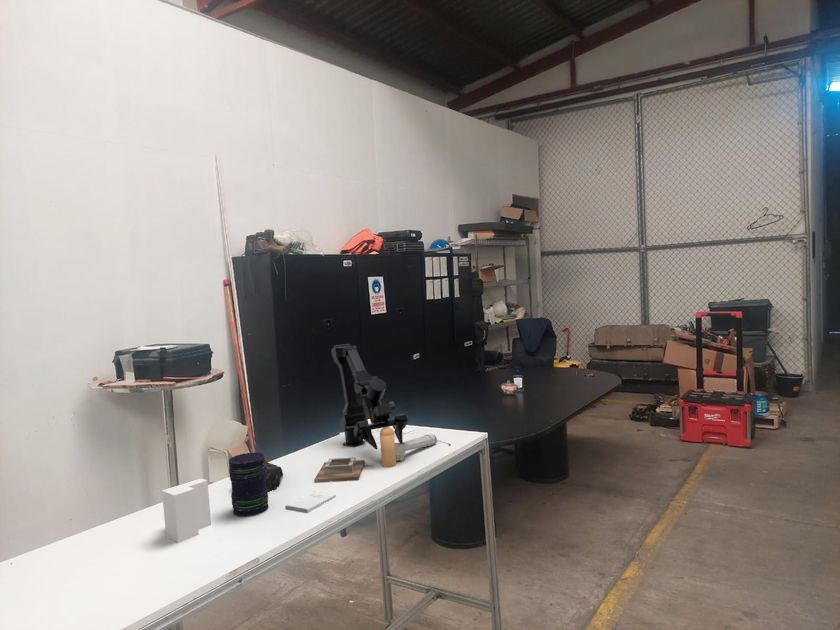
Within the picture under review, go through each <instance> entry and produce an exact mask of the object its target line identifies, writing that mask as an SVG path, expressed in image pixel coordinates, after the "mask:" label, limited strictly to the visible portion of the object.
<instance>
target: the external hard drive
mask: <svg viewBox="0 0 840 630" xmlns="http://www.w3.org/2000/svg"><path fill="white" fill-rule="evenodd" d="M335 497H336V498H337V494H336V493H330V492H323V491H318V490H315V491H312V492H310V493H308V494H307V495H304V496H303V497H300V498H298V499H297V500H294V501H293V502H290V503H289V504H286V505H285V510H290V511H296V512H302V513H306V514H308V513H311V512H312V511H314V510H316V509H318V508H320V507H322V506H323V505H325V504H327V503H328V502H331V501H332V500H334V499H335ZM333 498H334V499H333ZM326 502H327V503H326ZM324 503H325V504H324Z"/></svg>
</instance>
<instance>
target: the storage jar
mask: <svg viewBox="0 0 840 630" xmlns="http://www.w3.org/2000/svg"><path fill="white" fill-rule="evenodd" d="M265 457H266V456H265V454H264V453H261V452H248V453H241V454H237V455H234V456H232V457H230V458H228V466H229V467H228V474H229V481H230V483H231V493H230V494H231V495H230V497H231V505H232V509H233V510H232V514H233V515H234V516H236V517H240V518H245V517H246V518H247V517H248V518H249V517H254V516H257V515H260V514H262V513H263V514H264V513H265V512H267V510H268V509H269V493H268V490H267V487H266V480H265V475H266V465H265V461H266V460H265Z"/></svg>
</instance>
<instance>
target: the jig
mask: <svg viewBox="0 0 840 630" xmlns="http://www.w3.org/2000/svg"><path fill="white" fill-rule="evenodd" d="M365 464H366V460H365V459H358V460H356V457H339V458H337V457H336V458H328V460H327V461H324V463H323V464H322V466H321V467H320V469H319V470H318V472H317V473H316V476H315V478H314V482H316V483H330V482H329V481H333V482H344V481H346V482H347V480H350V481H359V480H360V478H361V475H362V472H363V469H364V466H365Z"/></svg>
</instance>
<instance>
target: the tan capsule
mask: <svg viewBox="0 0 840 630" xmlns="http://www.w3.org/2000/svg"><path fill="white" fill-rule="evenodd" d="M380 429H381V430H380V431H379V441H380V442H379V443H380V444H379V445H380V455H381V456H380V458H381V466H382V467H383V468H392V467H396V465H397V461H396V455H395V443H396V441H395V432H394V431H395V430H394V429H393V428H391V426H390V427H384V428H380Z"/></svg>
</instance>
